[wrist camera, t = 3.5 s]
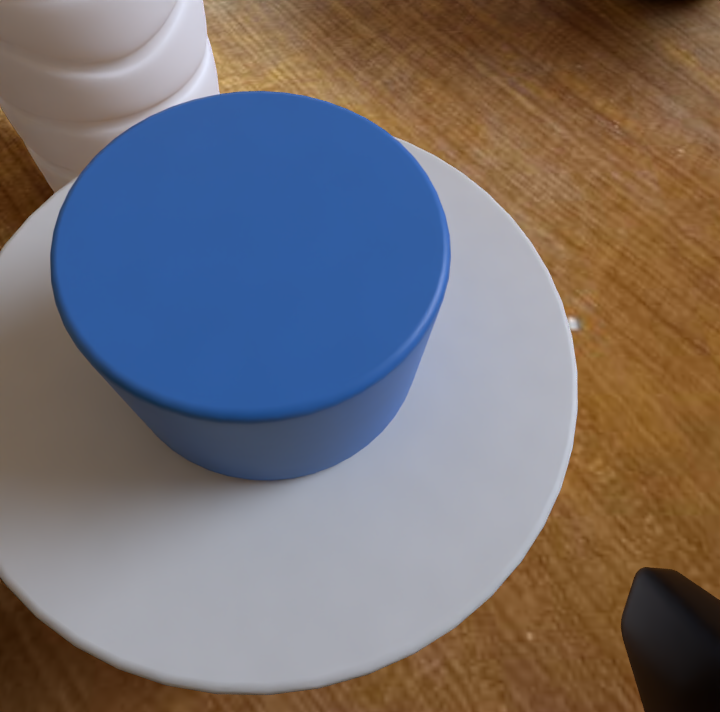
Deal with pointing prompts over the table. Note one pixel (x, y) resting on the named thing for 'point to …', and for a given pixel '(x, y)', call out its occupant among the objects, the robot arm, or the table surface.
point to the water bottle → (96, 72)
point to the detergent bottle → (273, 398)
